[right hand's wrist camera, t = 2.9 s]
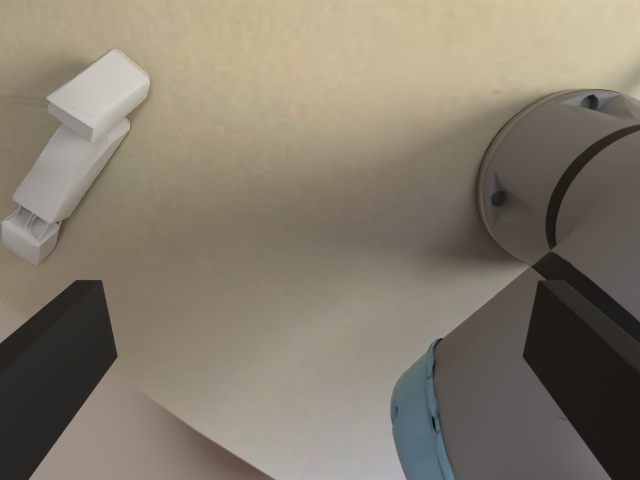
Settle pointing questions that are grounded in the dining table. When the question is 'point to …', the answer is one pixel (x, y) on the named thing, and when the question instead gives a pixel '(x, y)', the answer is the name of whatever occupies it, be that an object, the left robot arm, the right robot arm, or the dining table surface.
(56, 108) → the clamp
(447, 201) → the dining table surface
